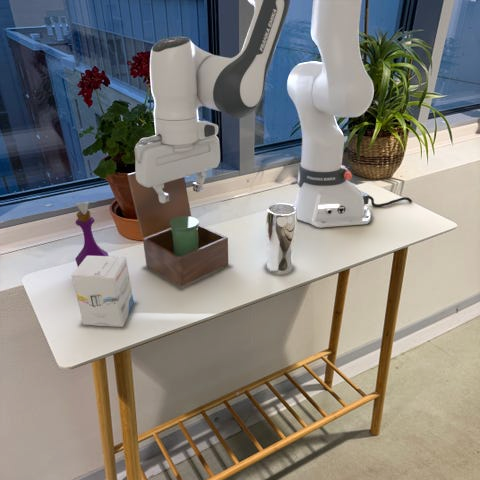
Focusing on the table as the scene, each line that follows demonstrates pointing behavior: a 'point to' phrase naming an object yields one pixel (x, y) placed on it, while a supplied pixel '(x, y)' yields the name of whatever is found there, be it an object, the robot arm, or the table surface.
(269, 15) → the robot arm
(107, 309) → the ink box
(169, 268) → the box
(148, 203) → the lid
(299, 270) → the table surface
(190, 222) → the green cylinder canister
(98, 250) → the perfume bottle
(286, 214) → the beer glass
